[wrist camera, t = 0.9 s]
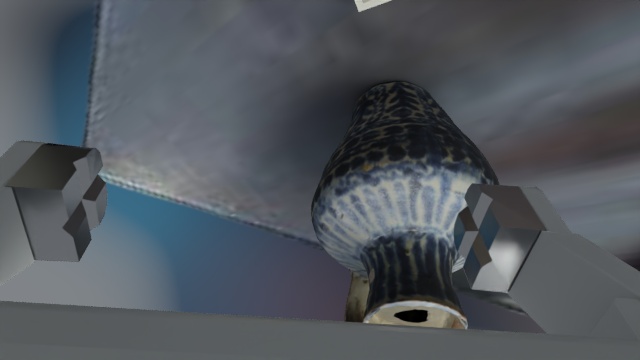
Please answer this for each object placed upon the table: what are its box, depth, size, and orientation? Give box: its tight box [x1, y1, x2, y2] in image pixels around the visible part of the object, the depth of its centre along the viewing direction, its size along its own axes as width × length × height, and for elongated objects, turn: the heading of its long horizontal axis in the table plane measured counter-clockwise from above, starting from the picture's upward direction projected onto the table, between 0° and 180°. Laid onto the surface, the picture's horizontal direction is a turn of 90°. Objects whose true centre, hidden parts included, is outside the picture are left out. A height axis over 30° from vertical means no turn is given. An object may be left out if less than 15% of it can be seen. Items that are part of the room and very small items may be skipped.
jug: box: [311, 82, 499, 329], centre depth 51 cm, size 21×19×30 cm
